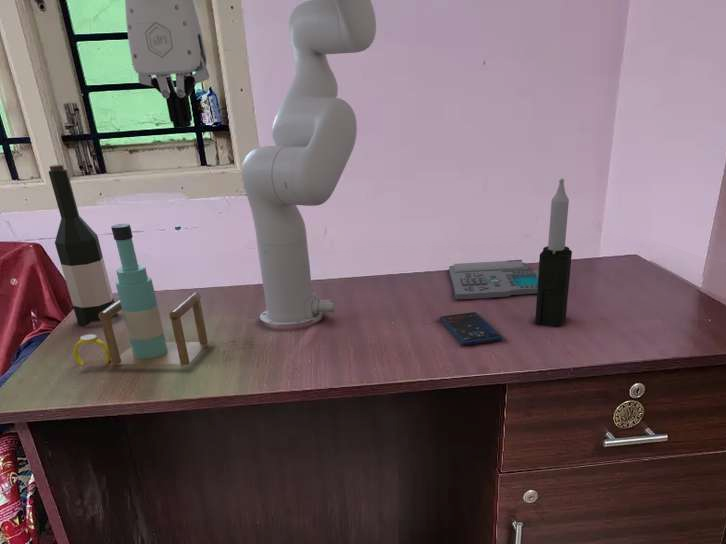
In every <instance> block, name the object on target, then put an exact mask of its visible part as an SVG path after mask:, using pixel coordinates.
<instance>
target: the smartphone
mask: <svg viewBox="0 0 726 544" xmlns="http://www.w3.org/2000/svg"><path fill="white" fill-rule="evenodd" d="M439 321H440V322H441V323H442V324H443V325H444V326H445V327H446V328H447V329H448V330H449V332H451V334H452V335H453V336H454V337H455V338H456V339H457V341H459V342H460V343H461V345H463V346H468V345H469V346H470V345H476V344H477V345H478V344H483V343H484V344H485V343H491V342H498V341H502V340H503V336H502V335H501V334H500V333H499V332H498V331H497V330H496V329H495V328H493V326H491V325H490V324H489V323H488V322H487V321H486V320H485V319H484V318H483V317H482V316H481V315H480V314H479V313H477V312H476V311H473V312H464V313H456V314H448V315H442V316H440V317H439Z"/></svg>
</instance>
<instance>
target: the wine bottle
mask: <svg viewBox="0 0 726 544" xmlns="http://www.w3.org/2000/svg"><path fill="white" fill-rule="evenodd" d="M48 177H49V179H50V183H51V186H52V190H53V193H54V198H55V201H56V204H57V207H58V210H59V215H60V222H59V225H58V229H57V233H56V236H55V241H54V246H55V249H56V252H57V256H58V259H59V262H60V266H61V270H62V273H63V276H64V279H65V284H66V286H67V287H66V288H67V290H68V293H69V297H70V301H71V304H72V307H73V311H74V315H75V318H76V321H77V325H78V326H79V327H86V326H88V325H89V324H90V323H92V322H101V320H100V319H99V317H98V315H99V313H100V312H102V311H103V310H104V309H106V308H107V307H109V306H110V305H112V304H113V303H114V302H115V298H114V295H113V291H112V288H111V282H110V279H109V275H108V272H107V267H106V264H105V259H104V255H103V252H102V248H101V243H100V240H99V237H98V234H97V233H96V232H95V231H94V230H93V229H92V227H90V226H89V224H88V223H87V222H86V221H85V220H84V219H83V218H82V216H80V213H79V210H78V206H77V202H76V198H75V194H74V191H73V187H72V184H71V179H70V175H69V173H68V169H67V168H65V167H64V164H54V165H50V166H49V170H48ZM111 318H119V314H118V313H116V314H115V315H113V316H112V317H111Z"/></svg>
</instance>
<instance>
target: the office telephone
mask: <svg viewBox="0 0 726 544" xmlns="http://www.w3.org/2000/svg"><path fill="white" fill-rule="evenodd" d="M448 272H449V276H450V280H451V283H452V286H453V290H454V297H455V300H470V299H488V298H505V297H510V296H516V295H529V294H533V295H534V294H537V287H538V273H539V269H533V270H532V269H531V270H529V267H528V265H527V264H526V263H525V262H523V259H511V260H499V261H497V260H496V261H481V262H479V261H478V262H463V263H462V262H461V263H453V265H449V266H448Z"/></svg>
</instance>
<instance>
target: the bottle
mask: <svg viewBox="0 0 726 544" xmlns="http://www.w3.org/2000/svg"><path fill="white" fill-rule="evenodd" d="M111 232H112V237H113V240H114V241H115V243H116V247H117V251H118V256H119V259H120V264H121V267H119V268H117V269H116V275H117V279H118V280H117V281H115V287H116V291H117V295H118V300H119V299H120V303H121V307H122V310H121V312H122V316H123V321H124V322H125V327H126V331H127V336H128V338H129V342H130V347H132V351H133V355H134V356H135V357H136V358H141V359H148V358H154V357H158V356H161V355H163V354H165V353H166V352H167V346H166V342H167V341H166V337H165V332H164V327H163V322H162V317H161V313H160V309H159V304H158V301H157V296H156V292H155V288H154V284H153V279H152V277H151V276H149V275H148V274H147V269H146V266H145V265H142V264H138V259H137V255H136V251H135V246H134V242H133V237H134V236H133V232H132V229H131V224H130V223H117V224H114V225H111Z"/></svg>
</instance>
